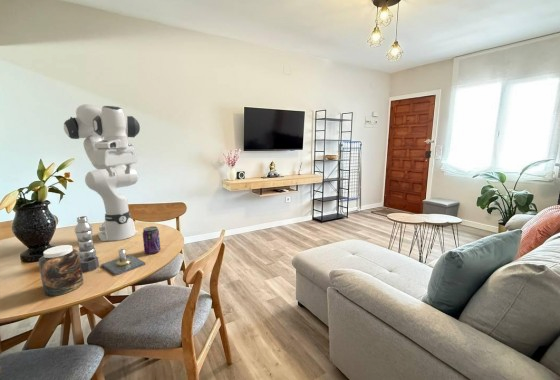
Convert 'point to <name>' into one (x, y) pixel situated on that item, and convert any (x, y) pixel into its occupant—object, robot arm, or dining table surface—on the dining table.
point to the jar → (60, 270)
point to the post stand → (123, 263)
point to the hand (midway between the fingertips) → (120, 175)
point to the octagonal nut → (89, 263)
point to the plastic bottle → (84, 238)
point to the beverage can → (151, 240)
